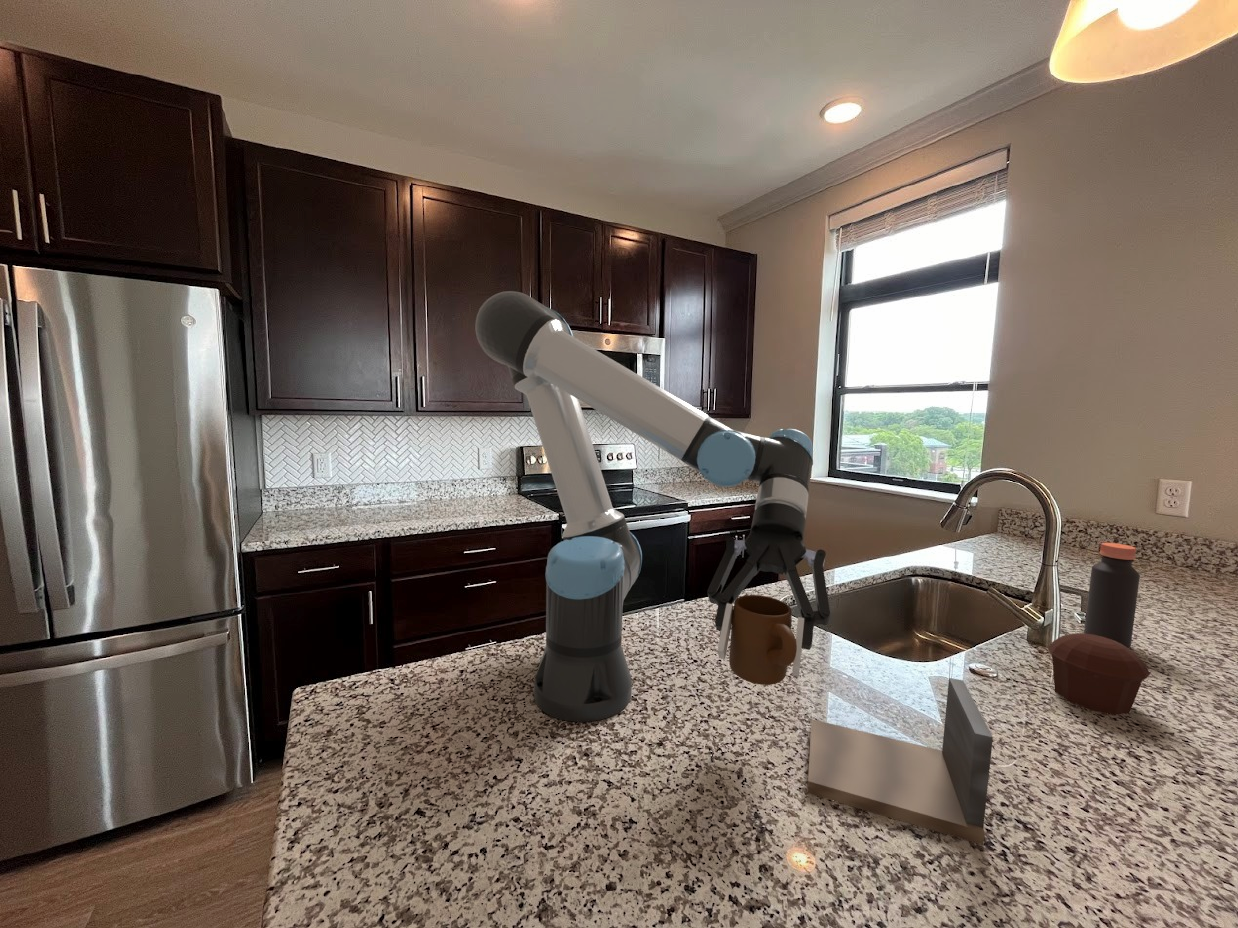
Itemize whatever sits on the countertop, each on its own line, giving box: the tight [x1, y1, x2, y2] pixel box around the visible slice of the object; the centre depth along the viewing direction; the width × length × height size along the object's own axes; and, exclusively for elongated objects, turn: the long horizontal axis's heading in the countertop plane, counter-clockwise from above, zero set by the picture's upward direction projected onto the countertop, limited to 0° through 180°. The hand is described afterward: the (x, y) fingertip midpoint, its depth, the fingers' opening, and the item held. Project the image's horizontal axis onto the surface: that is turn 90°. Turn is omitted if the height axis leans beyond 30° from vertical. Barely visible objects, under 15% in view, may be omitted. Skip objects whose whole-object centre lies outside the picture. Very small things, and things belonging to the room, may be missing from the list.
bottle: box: [1083, 542, 1141, 649], centre depth 99 cm, size 7×7×20 cm
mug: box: [728, 594, 797, 686], centre depth 64 cm, size 12×8×9 cm, turn 10°
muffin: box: [1046, 632, 1151, 717], centre depth 78 cm, size 12×11×10 cm
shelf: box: [807, 677, 994, 846], centre depth 60 cm, size 17×13×12 cm
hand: (757, 663), depth 62 cm, fingers closed on mug, 8 cm apart
